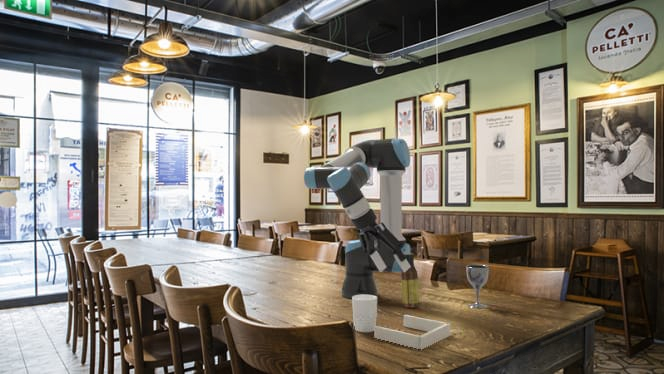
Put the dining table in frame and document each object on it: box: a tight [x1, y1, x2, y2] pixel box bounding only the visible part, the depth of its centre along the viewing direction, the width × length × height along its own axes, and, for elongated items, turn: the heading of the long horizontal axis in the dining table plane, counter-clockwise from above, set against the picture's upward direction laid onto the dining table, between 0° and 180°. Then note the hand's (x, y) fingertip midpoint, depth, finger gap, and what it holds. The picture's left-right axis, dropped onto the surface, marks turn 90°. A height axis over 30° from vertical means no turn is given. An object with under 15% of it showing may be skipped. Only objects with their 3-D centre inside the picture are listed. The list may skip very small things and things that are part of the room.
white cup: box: [351, 294, 378, 333], centre depth 140 cm, size 8×8×10 cm
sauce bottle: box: [400, 252, 420, 309], centre depth 168 cm, size 7×6×20 cm
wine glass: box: [466, 264, 489, 309], centre depth 169 cm, size 8×8×15 cm
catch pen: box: [373, 314, 451, 351], centre depth 132 cm, size 16×17×4 cm
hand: (394, 269), depth 143 cm, fingers open, 13 cm apart
